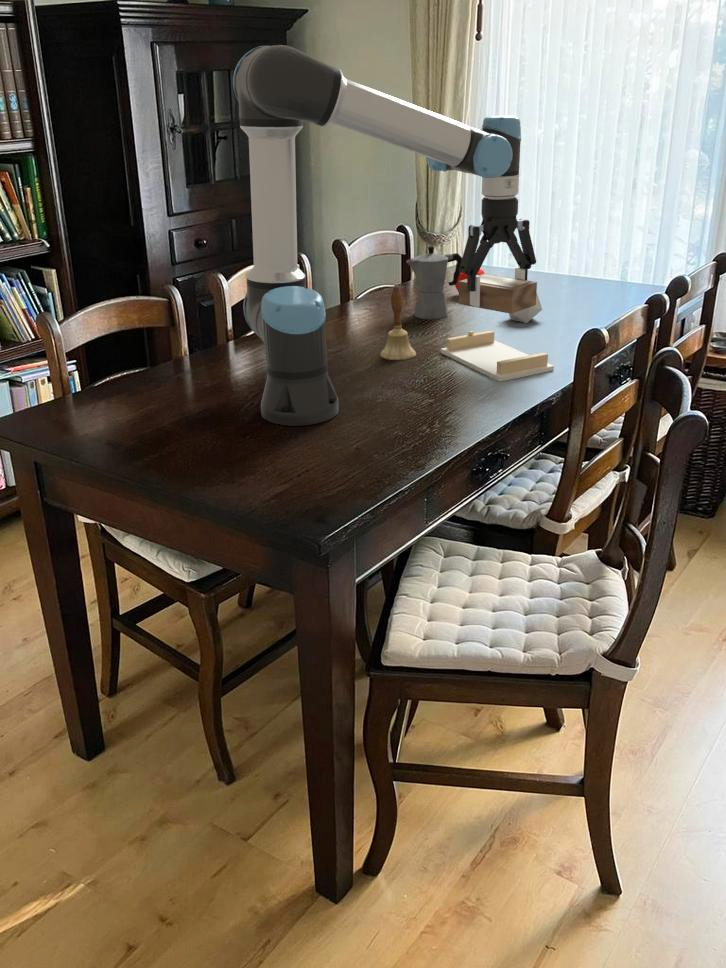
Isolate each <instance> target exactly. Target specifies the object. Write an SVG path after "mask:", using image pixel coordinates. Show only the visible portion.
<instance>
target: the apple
mask: <svg viewBox="0 0 726 968" xmlns="http://www.w3.org/2000/svg"><path fill="white" fill-rule="evenodd" d="M454 273H455V271H454V272H453V274H454ZM481 274H486V273H485V271H484V270H483V269H481V268H480V269H479V271H478V273H477V275H481ZM465 279H467V275H466V274H463V273H460V275H459V278H458V281H457V284H456V285H454V287H455V289H456V290H457V293H459V281H462V280H465Z"/></svg>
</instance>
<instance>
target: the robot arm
mask: <svg viewBox="0 0 726 968" xmlns="http://www.w3.org/2000/svg"><path fill="white" fill-rule="evenodd" d="M235 66H236V67H235V69H234V72H233V77H232V84H233V85H232V86H233V87H232V88H233V91H234V95H235V97H236V100H237V102H238V111H239V112H238V115H239V127H240V129H241V130H242V131H243V132H244V133H245V134H246V135H247V137H248V149H249V150H248V151H249V152H248V153H249V155H248V156H249V174H250V201H251V202H250V203H251V206H250V207H251V223H252V224H251V227H252V229H251V230H252V231H251V232H252V249H253V250H252V253H253V254H252V255H253V267H252V269H250V270H249V272H248V273H247V274H246V293H245V295H244V299H243V315H244V318H245V321H246V323H247V325H248V326H249V328H250V330H251V331H252V332H253V333H255V334H256V335H257V336H258V338H260V340H261V342H263V343H264V350H265V351H264V352H265V365H266V376H267V377H266V381H265V385H264V390H263V394H262V397H261V401H260V414H261V417H262V418H263V420H265V419H266V420H267V421H266V420H265V421H266V422H268V421H269V423H271V422H272V423H271V424H274V423H275V425H278V424H280V426H286V425H287V427H289V426H290V427H298V426H299V427H300V426H309V425H310V426H311V425H316V424H320V423H324V422H326V421H327V422H328V421H329V420H331V419H333V418H334V417H336V416H337V415H338V413H339V410H340V409H339V407H340V405H339V397H338V395H337V393H336V390H335V387H334V385H333V382H332V381H331V380H332V379H331V378H330V377H331V376H330V375H329V371H328V370H329V369H328V356H327V355H328V354H327V353H328V352H327V351H328V350H327V331H326V313H327V312H326V308H325V304H324V299H323V297H322V296H321V294H320V293H319V292H317V291H316V290H314V289H312V288H307V287H306V274H305V273H304V272H303V270H302V269H300V268H299V267H298V229H297V228H298V227H297V224H298V223H297V178H296V177H297V176H296V175H297V173H296V172H297V171H296V169H297V168H296V137H297V135H298V134H299V132H301V130H302V129H303V128H304V125H303V123H304V122H306V123H310V124H314V125H316V126H319V127H322V128H324V127H326V126H328V125H330V124H332V125H335V126H337V127H341V128H343V129H346V130H349V131H352V132H354V133H355V132H356V133H358V134H361V135H364V136H367V137H369V138H371V139H374V140H377V141H381V142H383V143H386V144H389V145H392V146H395V147H397V148H400V149H403V150H406V151H408V152H412V153H413V154H417V155H420V156H423V157H425V160H426V163H427V166H428V168H429V169H430V170H431V171H434V172H447V171H457V172H461V173H465V174H471V175H475V176H478V177H481V195H482V196H483V198H482V199H481V209H480V210H481V211H480V212H481V213H480V214H481V218H482V220H481V223H480V224H478V225H473V224H469V225H468V231H467V233H468V236H467V239H466V240H467V241H466V245H465V246H464V251H463V255H462V256H461V257H462V261H461V264H460V268H459V272H460V273H463V274H466V275H467V289H468V291H470V305H472V306H475V307H474V308H477V307H480V276H478V275H477V273H478V271H479V269H481V267H482V266H483V263H484V261H485V260H486V257H488V253H489V252H490V250H491V248H493V247H494V246H495V244H499V243H505V244H506V245H507V247H508V248H509V251H510V253H511V254H512V256H513V258H514V260H515V262H516V264H517V266H518V267H514V278H515V279H521V280H528V273H529V270H530V269H531V268H532V266H533V265H534V266H535V265H536V263H537V259H536V255H535V250H534V245H533V242H532V238H531V233H530V220H529V219H523V218H519V219H517V215H518V213H519V198H518V197H517V195H518V194H519V189H520V187H519V185H520V162H521V161H520V159H521V158H520V157H521V142H522V130H521V120H520V118H519V117H518V116H516V115H505V114H504V115H491V116H486V117H484V118H483V121H482V127H478V128H477V127H476V128H475V127H473V126H469V125H468V124H464V123H462V122H460V121H457V120H454V119H452V118H449V117H447V116H444V115H442V114H440V113H436V112H433V111H431V110H428V109H426V108H424V107H420V106H417V105H416V104H413V103H410V102H407V101H405V100H403V99H400V98H398V97H394V96H392V95H389V94H387V93H384V92H381V91H379V90H377V89H374V88H371V87H368V86H366V85H363V84H361V83H358V82H355V81H353V80H350V79H348V78H345V77H344V74H343V71H342V70H341V69H340V68H337V67H335V66H332V65H330V64H327V63H325V62H323V61H321V60H319V59H317V58H314V57H312V56H310V55H308V54H307V53H305V52H303V51H301V50H299V49H297V48H294V46H290V45H283V44H276V45H260V46H257V47H255V48H251V50H249V51H247V52H246V53H244V55H243V56H242V57H241V58H240V59H239V61H238V62H237V64H236V65H235ZM516 230H517V232H518V237H519V241H520V242H519V241H518V238H517V236H516V234H515V231H516ZM482 234H483V235H482ZM481 236H482V237H481ZM480 237H481V239H480ZM519 243H520V244H519ZM520 245H521V246H520ZM472 306H471V307H472Z"/></svg>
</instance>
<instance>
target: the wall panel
mask: <svg viewBox="0 0 726 968" xmlns="http://www.w3.org/2000/svg"><path fill="white" fill-rule="evenodd" d="M440 353H441V354H442V355H444V356H446V357H448V358H451V359H452V360H454V361H457V362H459V363H461V364H463V365H465V366H466V367H468V368H471V369H473V370H474V371H476V372H479V373H481V374H482V375H484V376H485V375H486V376H487V377H489V378H491V379H493V380H494V381H497V382H504V381H508V380H513V379H518V378H522V377H523V378H524V377H528V376H533V375H537V374H543V373H548V372H552V371H553V372H554V371H555V369H554V367H555V365H552V364H551V363H548V360H549V358H548V357H549V354H548V353H546V352H539V353H534V354H527V353H525V352H522V351H521V350H518V349H515V348H513V347H511V346H509V345H506V344H504V343H501V342H499V341H497V340H496V339H495V331H493V330H487V331H480V332H475V333H474V331H473V330H468V332H467V334H464V335H459V336H454V337H453V336H452V337H447V338H446V347H442V348H440Z"/></svg>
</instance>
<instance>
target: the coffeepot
mask: <svg viewBox="0 0 726 968" xmlns="http://www.w3.org/2000/svg"><path fill="white" fill-rule="evenodd" d="M427 248H428V253H425V254H420V255H416V256H414V257H412V258H409V259H407V260H406V264H407V265H409V267H410V268H411V270H412V271H413V273H414V275H415V278H416V284H417V286H418V287H417V288H418V291H417V297H416V302H415V303H416V304H415V309H414V317H415V318H418V319H421V320H441V319H444V318H446V317H447V316H448V313H449V309H448V305H447V299H446V298H447V297H446V292H445V291H446V290H445V289H444V288H445V286H444V285H445V283H446V277H447V276H446V275H447V271H448V270H447V269H448V263H451V262H456V266H455V270H454V272H455V273H454V272H453V275H452V277H453V279H452V281H449V282H448V283H447V284H448V286H451V287H452V286H455V285H456V284H457V281H458V278H459V275H460V272H459V268H460V264H461V261H462V257H463V256H461V255H460V253H458V252H457V253H449V254H444V255H442V254H439V253H435V252H434V250H435V246H433V245H429V246H428V247H427Z"/></svg>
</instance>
